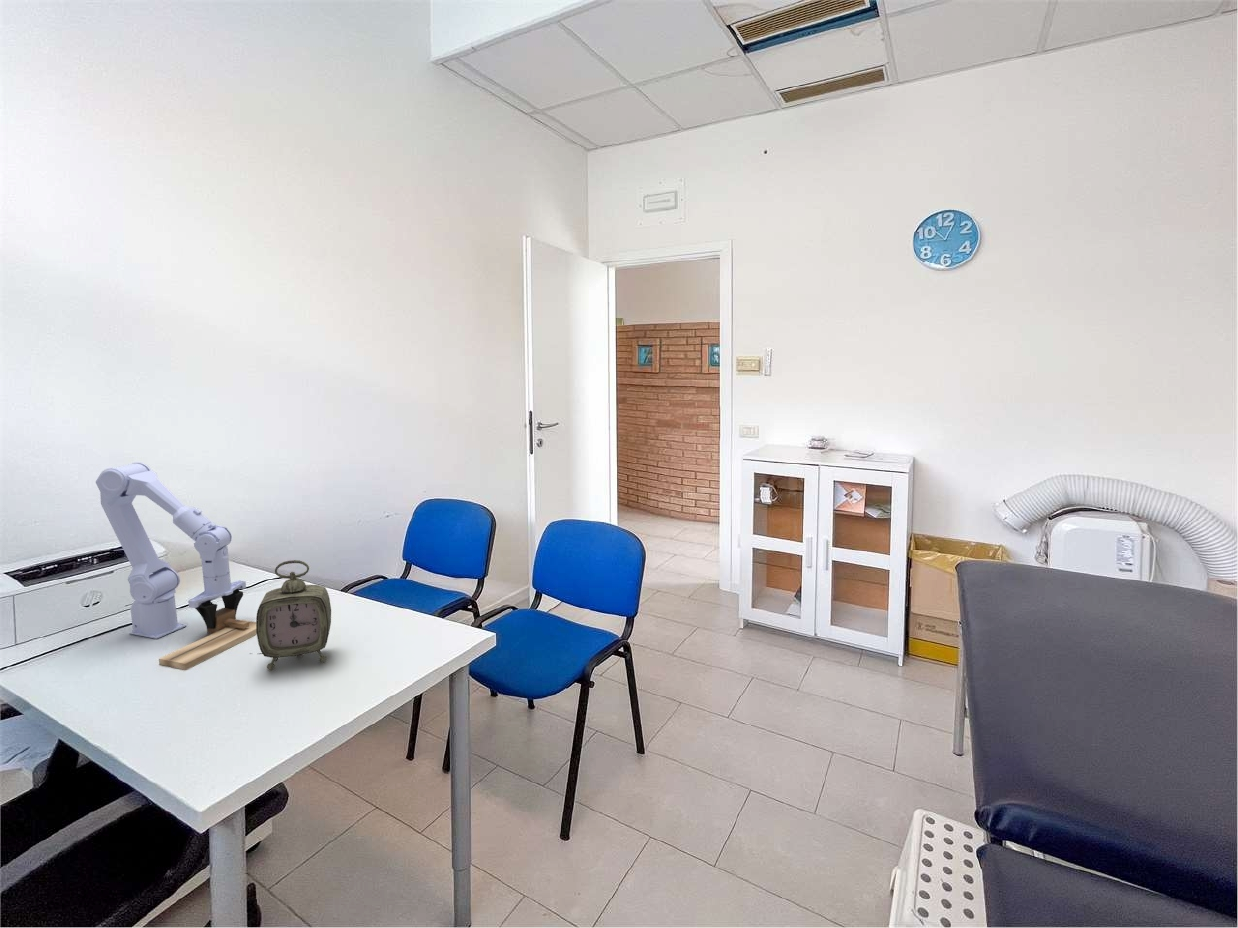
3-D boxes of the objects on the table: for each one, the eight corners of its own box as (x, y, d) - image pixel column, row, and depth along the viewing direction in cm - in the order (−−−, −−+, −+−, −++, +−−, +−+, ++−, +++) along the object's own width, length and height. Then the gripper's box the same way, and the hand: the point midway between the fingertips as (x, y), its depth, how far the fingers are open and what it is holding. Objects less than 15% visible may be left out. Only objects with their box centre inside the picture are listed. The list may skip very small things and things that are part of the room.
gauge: (207, 633, 150) (205, 614, 149) (225, 625, 155) (223, 607, 154) (238, 639, 147) (236, 620, 146) (255, 630, 152) (254, 613, 151)
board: (159, 664, 134) (158, 658, 134) (243, 625, 155) (242, 619, 155) (185, 669, 132) (185, 663, 132) (267, 629, 153) (266, 623, 153)
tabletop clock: (260, 675, 131) (250, 569, 126) (267, 656, 139) (259, 557, 135) (331, 664, 136) (324, 563, 132) (334, 647, 144) (328, 551, 140)
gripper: (201, 585, 142) (207, 637, 144) (253, 566, 155) (257, 614, 158) (179, 582, 143) (185, 633, 146) (232, 563, 157) (236, 610, 159)
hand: (221, 623), depth 152 cm, fingers closed on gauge, 5 cm apart
